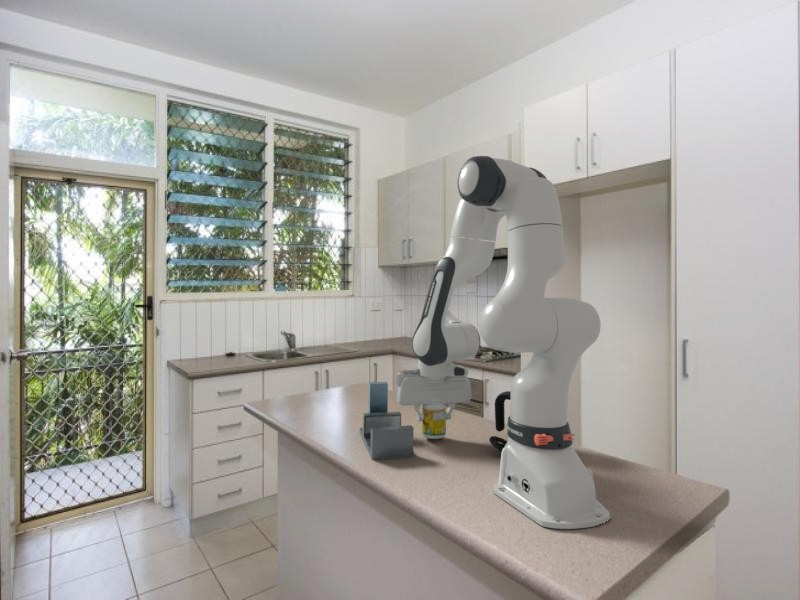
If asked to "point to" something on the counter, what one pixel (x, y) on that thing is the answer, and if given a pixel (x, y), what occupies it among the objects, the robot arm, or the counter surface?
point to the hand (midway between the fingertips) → (434, 420)
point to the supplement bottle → (434, 419)
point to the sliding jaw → (379, 409)
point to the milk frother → (500, 420)
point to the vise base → (389, 442)
